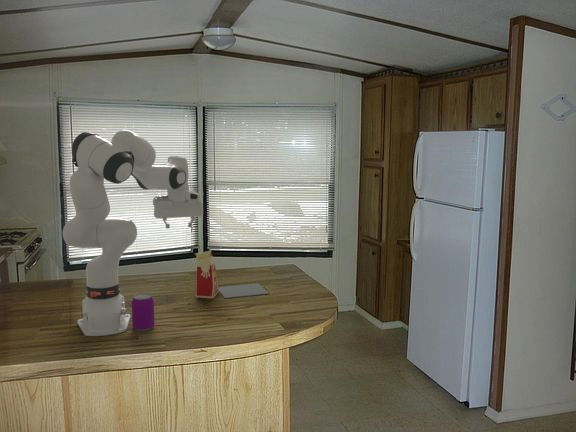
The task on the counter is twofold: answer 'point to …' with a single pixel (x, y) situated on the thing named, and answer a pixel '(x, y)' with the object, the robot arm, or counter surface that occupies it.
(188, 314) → the counter surface
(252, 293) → the mat
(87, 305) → the robot arm
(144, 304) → the beverage can
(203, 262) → the milk carton
